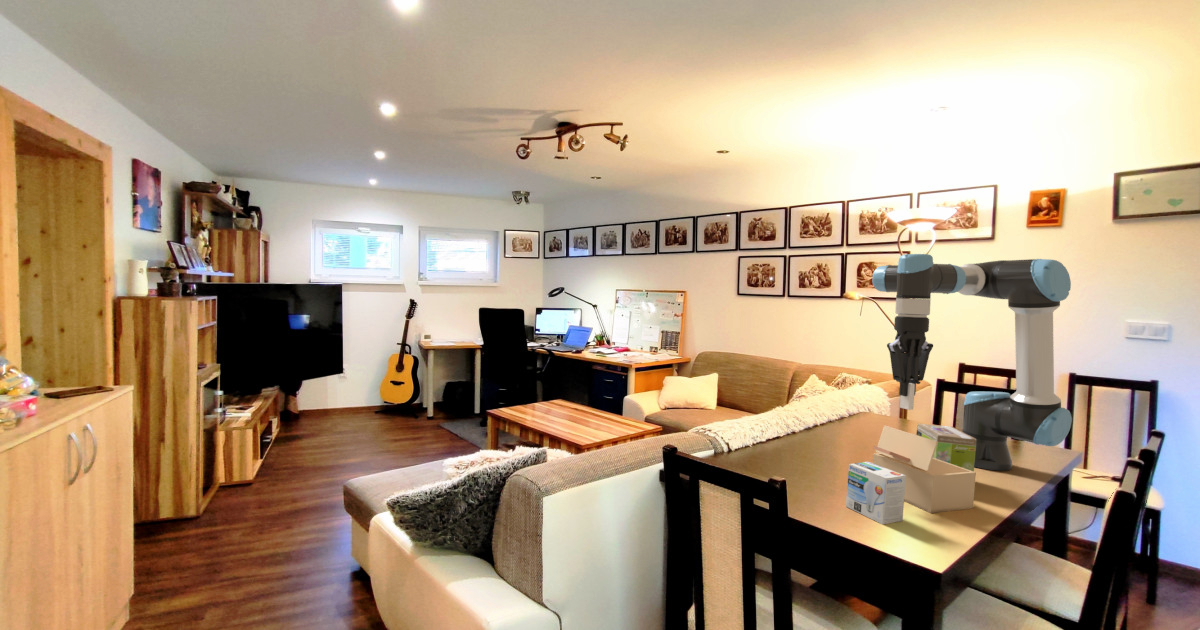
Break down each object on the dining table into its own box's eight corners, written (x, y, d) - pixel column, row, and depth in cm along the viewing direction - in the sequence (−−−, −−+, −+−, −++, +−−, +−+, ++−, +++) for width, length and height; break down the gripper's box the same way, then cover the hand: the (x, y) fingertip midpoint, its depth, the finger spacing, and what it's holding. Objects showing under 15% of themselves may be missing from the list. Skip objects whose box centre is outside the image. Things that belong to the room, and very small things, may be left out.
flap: (885, 425, 144) (865, 417, 142) (937, 441, 129) (916, 433, 127) (876, 452, 144) (856, 444, 141) (928, 471, 129) (906, 463, 127)
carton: (910, 482, 150) (912, 450, 149) (973, 508, 133) (975, 472, 132) (871, 486, 145) (873, 453, 145) (930, 513, 128) (933, 476, 128)
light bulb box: (844, 506, 130) (847, 463, 130) (864, 503, 133) (867, 460, 132) (883, 525, 120) (886, 478, 120) (904, 521, 123) (907, 475, 122)
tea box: (973, 492, 144) (978, 438, 143) (932, 488, 146) (936, 434, 145) (949, 474, 159) (953, 425, 158) (912, 470, 161) (915, 422, 160)
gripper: (918, 315, 140) (913, 404, 141) (879, 314, 136) (874, 406, 137) (945, 317, 133) (939, 410, 134) (904, 316, 129) (899, 413, 130)
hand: (906, 408), depth 136 cm, fingers closed
